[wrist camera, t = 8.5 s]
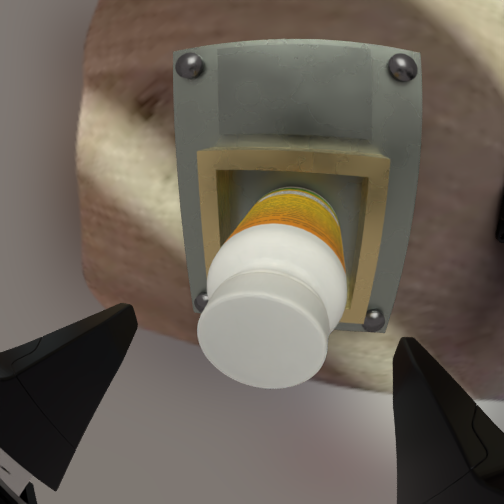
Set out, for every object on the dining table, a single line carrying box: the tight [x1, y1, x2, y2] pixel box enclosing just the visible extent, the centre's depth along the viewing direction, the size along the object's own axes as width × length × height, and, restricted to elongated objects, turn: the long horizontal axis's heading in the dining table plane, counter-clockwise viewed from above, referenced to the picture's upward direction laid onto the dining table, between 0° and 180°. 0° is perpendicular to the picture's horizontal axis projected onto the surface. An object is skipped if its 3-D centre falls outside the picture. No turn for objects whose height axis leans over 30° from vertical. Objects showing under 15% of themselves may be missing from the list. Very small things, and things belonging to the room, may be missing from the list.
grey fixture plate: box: [173, 39, 422, 333], centre depth 16 cm, size 14×18×5 cm
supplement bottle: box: [197, 187, 347, 389], centre depth 12 cm, size 5×5×10 cm
